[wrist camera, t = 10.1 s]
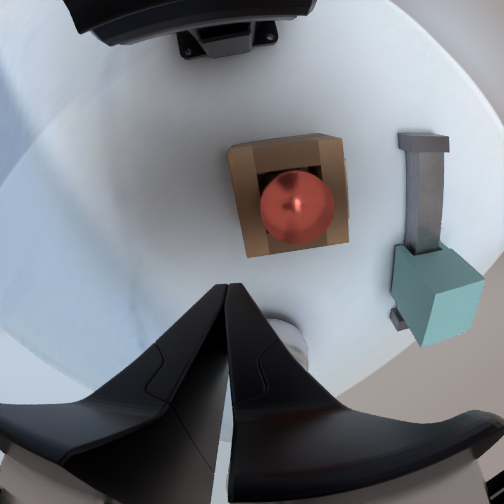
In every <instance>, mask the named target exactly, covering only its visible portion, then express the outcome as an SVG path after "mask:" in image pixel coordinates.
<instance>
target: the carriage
mask: <svg viewBox="0 0 504 504" xmlns="http://www.w3.org/2000/svg"><path fill="white" fill-rule="evenodd" d="M485 280H486V279H485V278H484V277H483V276H482V275H481V274H480V273H479V272H477V271H476V270H475V269H474V268H473V267H472V266H471V265H470V264H469V263H468V262H466V261H465V260H464V259H463V258H462V257H461V256H460V255H458V254H457V253H456V252H455V251H454V250H453V249H451V248H450V249H449V248H448V247H446V246H445V245H444V244H443V243H442V242H440V241H439V247H438V251H436V252H431V253H426V254H421V255H416V256H413V255H412V254H411V253H410V252H409V251H408V250H407V249H406V248H405V247H404V246H403V245H399V246H396V250H395V262H394V273H393V282H392V291H391V296H392V297H393V299H394V300H395V302H396V303H397V305H398V306H397V309H398V311H399V312H400V314H401V316H402V317H403V319H404V320H405V322H406V324H407V325H408V327H409V329H410V330H411V332H412V334H413V335H414V337H415V339H416V340H417V342H418V344H419V345H420V347H421V348H422V347H425V346H428V345H431V344H434V343H437V342H440V341H443V340H446V339H449V338H451V337H454V336H457V335H459V334H462V333H464V332H467V331H469V329H470V326H471V323H472V321H473V318H474V315H475V312H476V309H477V306H478V303H479V300H480V297H481V294H482V290H483V287H484V283H485Z"/></svg>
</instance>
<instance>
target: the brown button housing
mask: <svg viewBox="0 0 504 504" xmlns="http://www.w3.org/2000/svg"><path fill="white" fill-rule="evenodd" d="M227 158H228V163H229V168H230V173H231V178H232V183H233V188H234V193H235V198H236V204H237V209H238V214H239V219H240V224H241V229H242V234H243V239H244V244H245V249H246V254H247V258H250V257H257V256H263V255H270V254H276V253H283V252H289V251H296V250H303V249H309V248H316V247H322V246H328V245H335V244H341V243H348V242H349V234H348V219H349V201H348V185H347V172H346V160H345V158H344V153H343V144H342V139H341V138H337V137H333V136H329V135H324V134H310V135H301V136H292V137H284V138H277V139H270V140H263V141H256V142H250V143H244V144H238V145H233V146H232V147H231V149H230V150H229V152H228V153H227ZM292 168H299V169H300V170H303V171H307V172H310V173H312V174H314V175H315V176H317V177H318V178H319V179H320V180H321V181H323V182H324V183H325V184H326V185H327V187H328V188H329V190H330V191H331V193H332V196H333V199H334V205H335V210H334V216H333V219H332V222H331V224H330V226H329V227H328V229H327V230H326V231H325V232H324V233H323V234H322V235H321V236H320V237H318V238H317V239H315V240H313V241H311V242H308V243H304V244H288V243H284V242H282V241H279V240H278V239H276V238H275V237H273V236H272V235H271V234H270V233H269V232H268V231H267V229H266V228H265V226H264V224H263V222H262V219H261V212H260V199H261V195H262V192H263V190H264V179H265V176H266V174H267V173H268V172H271V171H278V170H285V169H292Z"/></svg>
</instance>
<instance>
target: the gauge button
mask: <svg viewBox="0 0 504 504" xmlns="http://www.w3.org/2000/svg"><path fill="white" fill-rule="evenodd" d="M334 210H335V205H334V199H333V196H332V193H331V191H330V190H329V188H328V187H327V185H326V184H325V183H324V182H323V181H321V180H320V179H319V178H318V177H317V176H315V175H314V174H312V173H310V172H307V171H303V170H300V169H299V168H292V169H285V170H278V171H271V172H268V173H267V174H266V176H265V179H264V190H263V192H262V195H261V199H260V212H261V219H262V222H263V224H264V226H265V228H266V229H267V231H268V232H269V233H270V234H271V235H272V236H273V237H275V238H276V239H278V240H279V241H282V242H284V243H288V244H304V243H308V242H311V241H313V240H315V239H317V238H318V237H320V236H321V235H322V234H323V233H324V232H325V231H326V230H327V229H328V227H329V226H330V224H331V222H332V219H333V216H334Z"/></svg>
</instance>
